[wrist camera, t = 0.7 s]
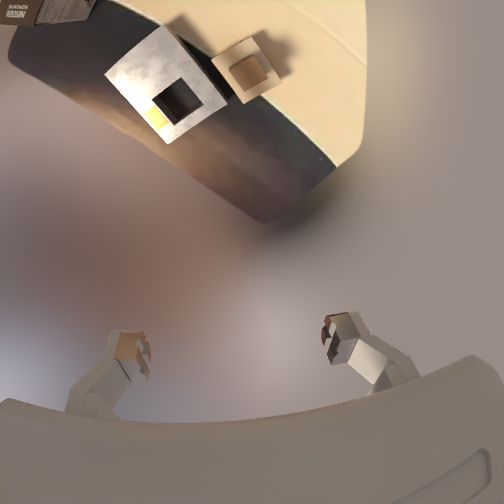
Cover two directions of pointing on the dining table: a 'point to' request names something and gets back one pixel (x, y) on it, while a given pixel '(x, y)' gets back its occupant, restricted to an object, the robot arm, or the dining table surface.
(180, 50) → the plate
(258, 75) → the walnut block
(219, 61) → the beige rectangular block
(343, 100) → the dining table surface
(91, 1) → the coffee box
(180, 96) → the dining table surface
